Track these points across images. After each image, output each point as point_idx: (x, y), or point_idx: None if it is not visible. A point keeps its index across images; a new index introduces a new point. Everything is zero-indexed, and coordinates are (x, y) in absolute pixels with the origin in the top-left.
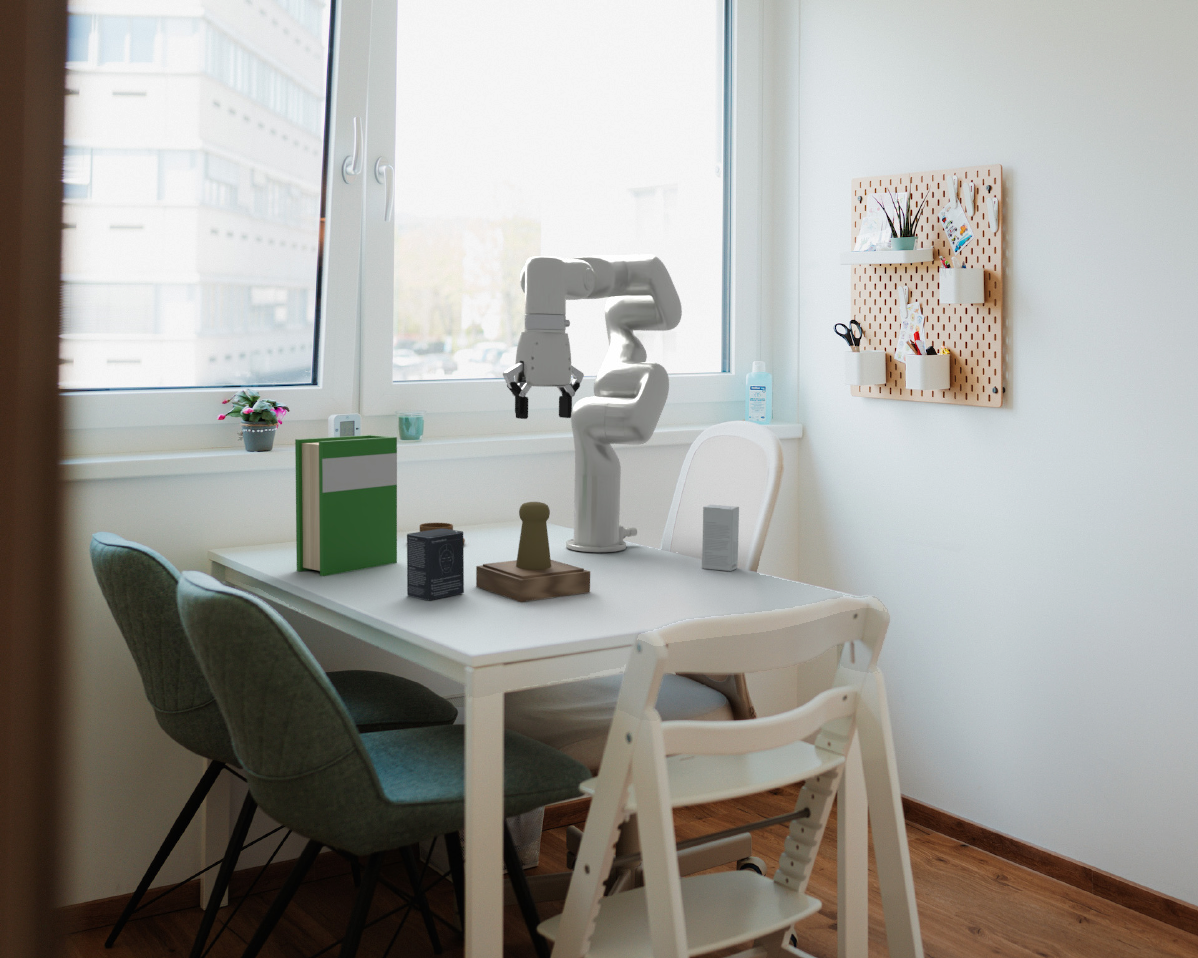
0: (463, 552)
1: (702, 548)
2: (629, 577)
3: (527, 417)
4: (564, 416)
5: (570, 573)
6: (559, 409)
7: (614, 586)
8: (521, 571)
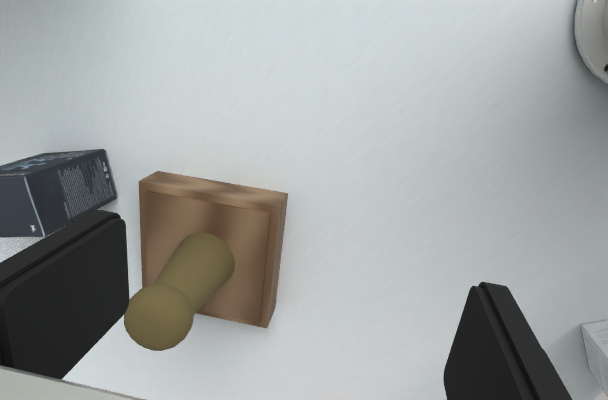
0: (72, 221)
1: (601, 350)
2: (409, 283)
3: (124, 308)
4: (454, 347)
5: (231, 318)
6: (486, 323)
7: (334, 307)
8: None
